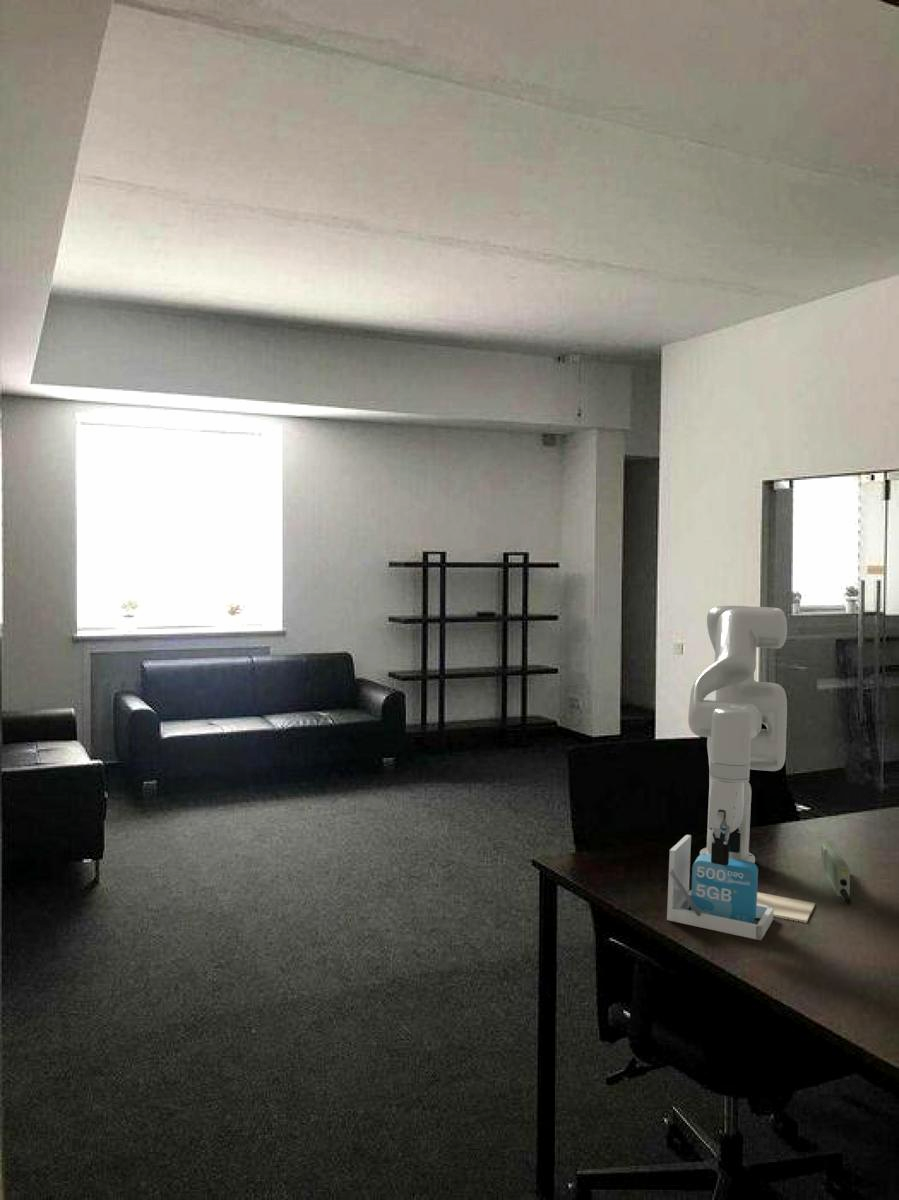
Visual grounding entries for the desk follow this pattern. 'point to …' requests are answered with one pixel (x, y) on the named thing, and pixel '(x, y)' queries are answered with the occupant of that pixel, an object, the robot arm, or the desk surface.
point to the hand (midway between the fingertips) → (725, 857)
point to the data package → (725, 888)
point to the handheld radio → (836, 869)
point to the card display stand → (682, 901)
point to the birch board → (787, 907)
